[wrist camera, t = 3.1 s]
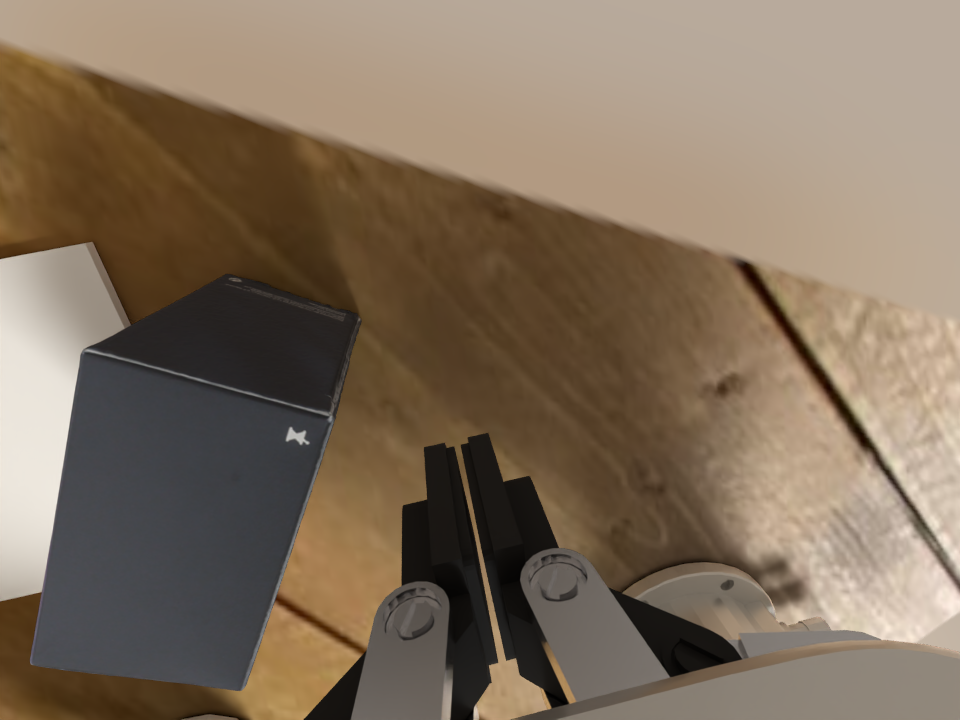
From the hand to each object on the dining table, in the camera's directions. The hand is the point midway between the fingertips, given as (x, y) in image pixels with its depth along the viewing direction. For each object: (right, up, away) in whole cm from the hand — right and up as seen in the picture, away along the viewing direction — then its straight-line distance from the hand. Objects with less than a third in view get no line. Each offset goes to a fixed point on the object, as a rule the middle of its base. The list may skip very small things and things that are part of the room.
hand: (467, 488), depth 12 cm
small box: (-10, +2, +11) cm, 15 cm away
